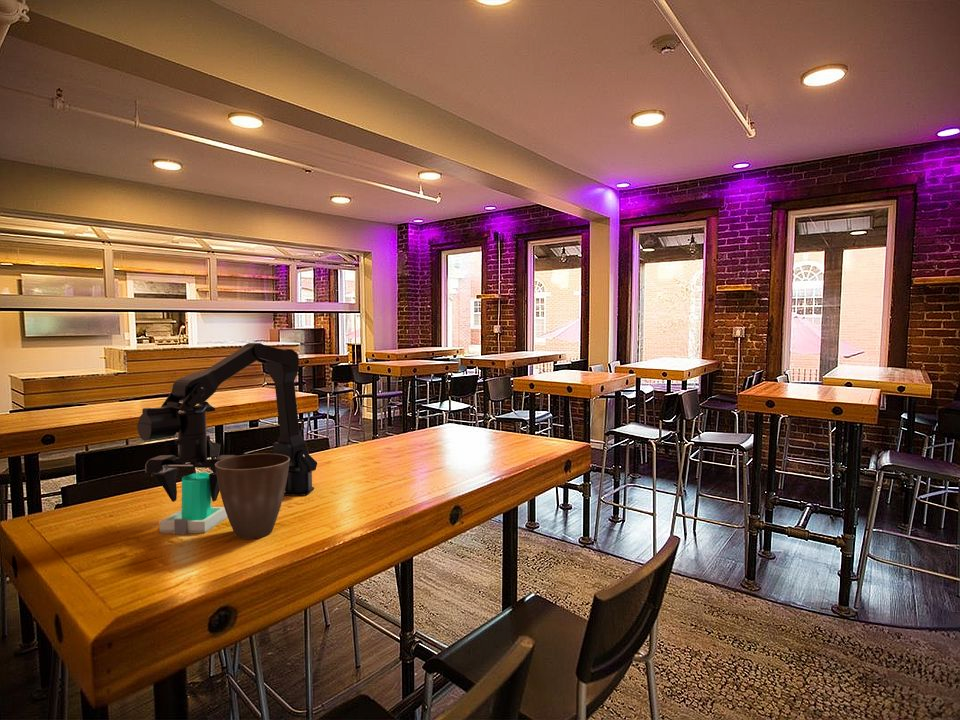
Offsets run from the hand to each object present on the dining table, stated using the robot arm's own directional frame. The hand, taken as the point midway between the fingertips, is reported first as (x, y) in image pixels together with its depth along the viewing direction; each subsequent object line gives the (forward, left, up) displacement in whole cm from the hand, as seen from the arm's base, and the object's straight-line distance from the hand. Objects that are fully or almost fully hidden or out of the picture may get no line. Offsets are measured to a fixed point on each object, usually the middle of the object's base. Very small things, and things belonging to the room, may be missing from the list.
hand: (194, 501), depth 120 cm
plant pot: (-16, +5, -6) cm, 18 cm away
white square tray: (0, 0, -6) cm, 6 cm away
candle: (0, 0, -5) cm, 5 cm away
